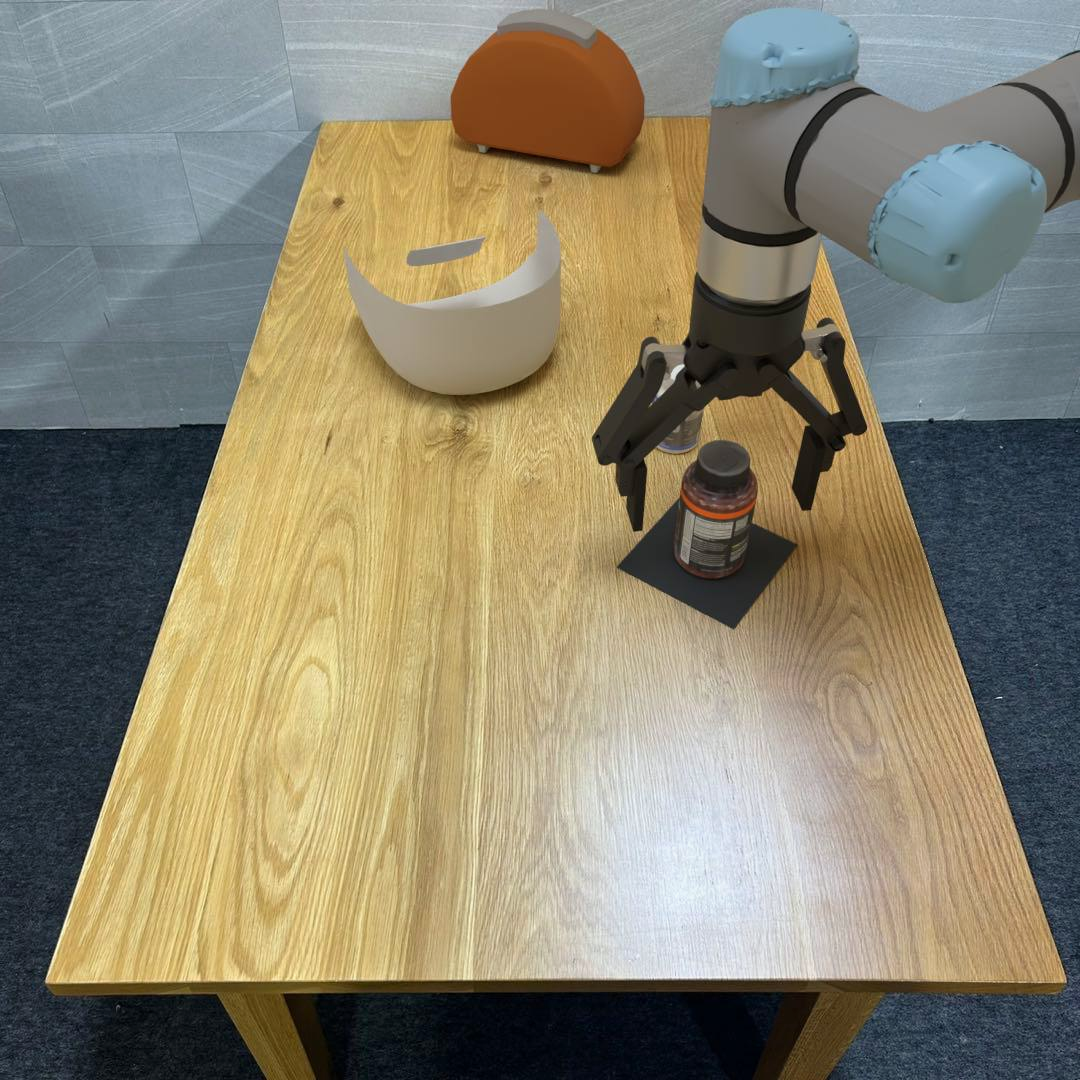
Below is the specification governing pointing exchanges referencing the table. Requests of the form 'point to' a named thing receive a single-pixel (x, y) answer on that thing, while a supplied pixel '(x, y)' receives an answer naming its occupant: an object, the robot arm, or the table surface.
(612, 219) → the table surface
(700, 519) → the supplement bottle
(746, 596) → the mat
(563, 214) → the table surface
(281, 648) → the table surface
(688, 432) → the pill bottle
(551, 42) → the orange toaster
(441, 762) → the table surface
